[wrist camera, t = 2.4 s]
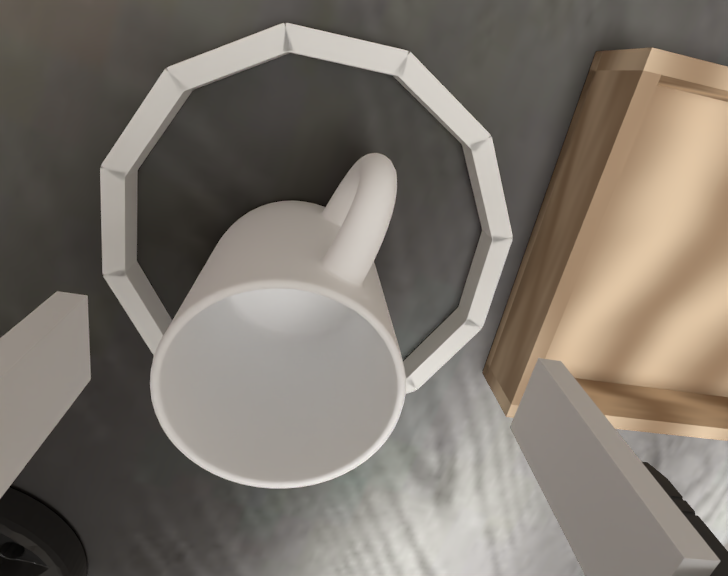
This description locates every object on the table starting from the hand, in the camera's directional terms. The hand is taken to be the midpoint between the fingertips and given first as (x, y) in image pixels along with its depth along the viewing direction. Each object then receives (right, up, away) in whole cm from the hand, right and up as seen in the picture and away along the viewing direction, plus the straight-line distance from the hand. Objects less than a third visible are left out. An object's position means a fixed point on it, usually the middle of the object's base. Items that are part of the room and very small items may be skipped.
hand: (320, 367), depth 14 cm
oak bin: (+19, +4, +12) cm, 23 cm away
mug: (-1, +5, +10) cm, 11 cm away
